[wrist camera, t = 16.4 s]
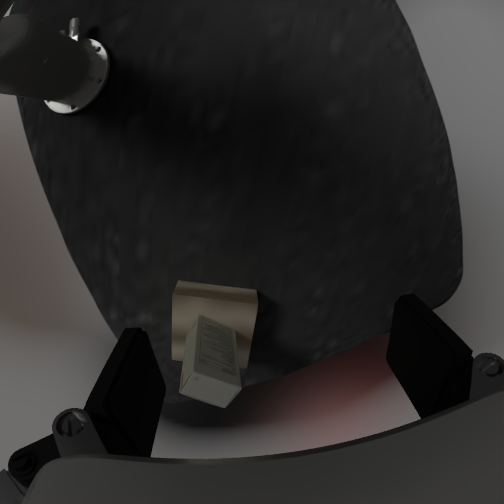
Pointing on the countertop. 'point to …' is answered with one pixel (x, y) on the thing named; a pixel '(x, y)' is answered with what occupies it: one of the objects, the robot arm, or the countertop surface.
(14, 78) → the robot arm
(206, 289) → the birch block
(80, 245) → the countertop surface
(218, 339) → the skincare box
